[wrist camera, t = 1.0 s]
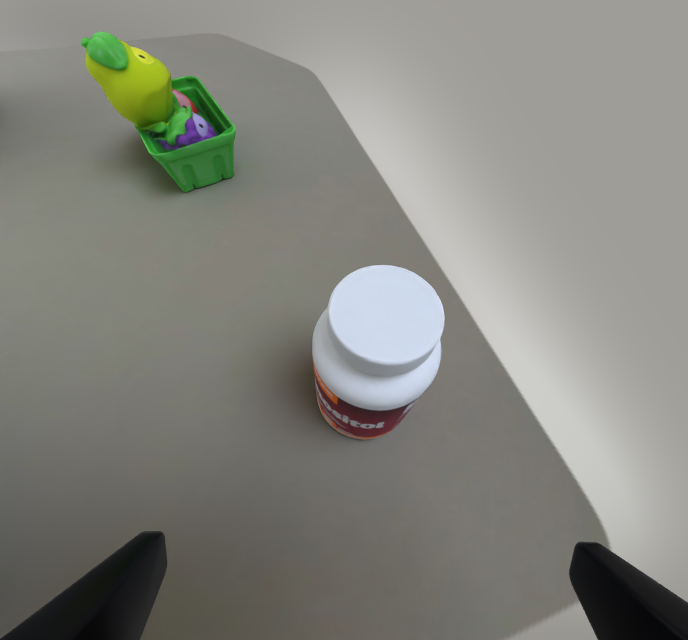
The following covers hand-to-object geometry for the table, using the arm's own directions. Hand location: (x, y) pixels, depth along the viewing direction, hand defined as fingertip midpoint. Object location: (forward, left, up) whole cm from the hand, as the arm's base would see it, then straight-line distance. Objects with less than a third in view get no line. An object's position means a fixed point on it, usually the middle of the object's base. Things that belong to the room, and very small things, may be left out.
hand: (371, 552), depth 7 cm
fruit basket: (+35, -9, -13) cm, 39 cm away
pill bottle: (+5, -6, -13) cm, 16 cm away
